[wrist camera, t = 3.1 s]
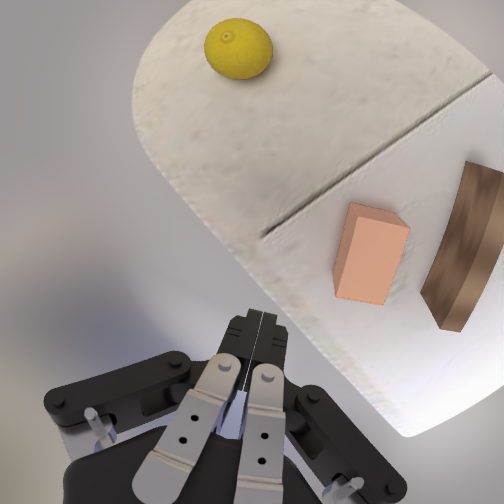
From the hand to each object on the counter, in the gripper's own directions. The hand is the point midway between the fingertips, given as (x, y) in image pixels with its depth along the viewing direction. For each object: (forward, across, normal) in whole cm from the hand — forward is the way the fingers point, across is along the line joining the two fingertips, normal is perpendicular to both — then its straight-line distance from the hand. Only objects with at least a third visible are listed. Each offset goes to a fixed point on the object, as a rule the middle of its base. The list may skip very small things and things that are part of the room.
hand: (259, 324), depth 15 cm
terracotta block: (+16, -8, 0) cm, 18 cm away
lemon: (+16, +6, -16) cm, 24 cm away
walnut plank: (+16, -19, -4) cm, 25 cm away
